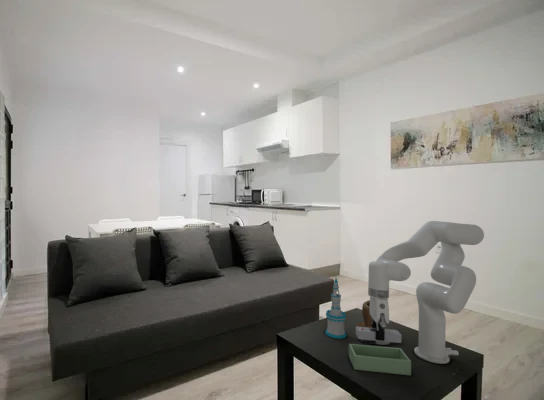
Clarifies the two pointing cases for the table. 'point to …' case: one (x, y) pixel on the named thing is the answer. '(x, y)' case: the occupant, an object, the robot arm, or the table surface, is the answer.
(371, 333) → the remote
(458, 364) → the table surface
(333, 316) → the model tower
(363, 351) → the tray
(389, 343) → the walkie-talkie
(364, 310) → the brown flared hollow piece
